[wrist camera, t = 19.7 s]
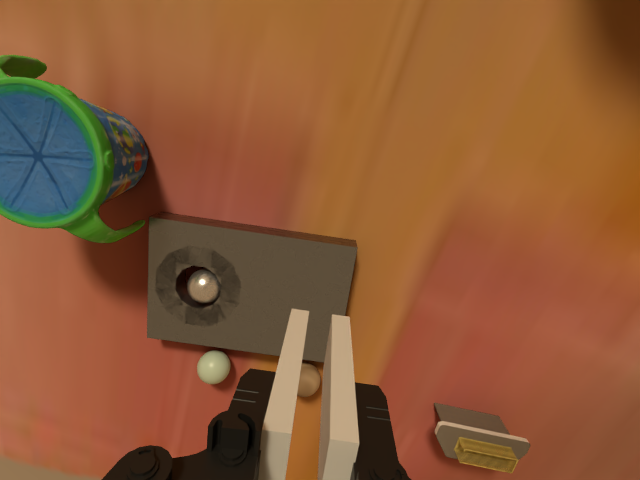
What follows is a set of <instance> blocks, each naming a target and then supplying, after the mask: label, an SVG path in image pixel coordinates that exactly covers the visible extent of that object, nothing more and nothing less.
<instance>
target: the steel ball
mask: <svg viewBox="0 0 640 480" xmlns="http://www.w3.org/2000/svg"><path fill="white" fill-rule="evenodd" d="M220 289H221V284H220V282H219V280H218V278H217V276H216V274H214V273H213V272H211V271H210V270H208V269H200V270H197V271H196V272H194V273H193V274H192V275H191V276H190V278H189V280H188V283H187V290H188V293H189V295H190V296H191V298H192V299H194V300H195V301H197V302H200V303H209V302H212V301H214V300H216V299H217V298H218V297H219V296H220Z"/></svg>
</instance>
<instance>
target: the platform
mask: <svg viewBox="0 0 640 480" xmlns="http://www.w3.org/2000/svg"><path fill="white" fill-rule="evenodd" d="M434 406H435V408H436V411H437V413H438V416H439V418H440V422H438V424H437V426H436V429H435V434H436V437H437V439H438V441H439V443H440V445H441V447H442V449H443V451H444V453H445V455H446V457H449V458H454V459H458V460H459V462H460V461H461V462H460V463H464V464H469V465H473V466H478V467H483V468H488V469H493V470H498V471H503V472H508V473H513V471H514V469H515V467H516V465H517V463H518V460H519V459H521V458H522V457H523V456H524V455H525V454H527V452H528V450H529V448H530V444H529V442H528V441H527V439H526V438H522V437H517V436H512V435H510V433H509V432H508V430H507V429H506V427H505V425H504V424H503V422H502V420H501V419H500V417H499V416H496V415H491V414H486V413H481V412H477V411H472V410H467V409H462V408H458V407H453V406H448V405H443V404H438V403H434ZM463 442H464V443H463ZM476 442H477V443H476ZM479 442H480V443H479ZM478 443H479V444H478ZM477 444H478V445H477ZM480 444H481V445H480ZM461 445H462V446H461ZM479 445H480V446H479ZM460 446H461V447H460ZM478 446H479V447H478ZM481 446H482V447H481ZM497 446H498V447H497ZM462 447H463V448H462ZM480 447H481V448H480ZM496 447H497V448H496ZM499 447H500V448H499ZM479 448H480V449H479ZM482 448H483V449H482ZM495 448H496V449H495ZM498 448H499V449H498ZM481 449H482V450H481ZM497 449H498V450H497ZM483 450H484V451H483ZM496 450H497V451H496ZM499 450H500V451H499ZM482 451H483V452H482ZM498 451H499V452H498ZM484 452H485V453H484ZM497 452H498V453H497ZM463 460H464V461H463ZM465 461H466V462H465ZM468 461H469V462H468ZM467 462H468V463H467ZM470 462H471V463H470ZM472 463H473V464H472ZM477 463H478V464H477ZM479 464H480V465H479ZM482 464H483V465H482ZM481 465H482V466H481ZM484 465H485V466H484ZM491 466H492V467H491ZM493 467H494V468H493ZM496 467H497V468H496ZM495 468H496V469H495ZM498 468H499V469H498ZM506 468H507V469H506ZM509 468H510V469H509ZM508 469H509V470H508ZM511 469H512V470H511ZM507 470H508V471H507ZM510 470H511V471H510ZM509 471H510V472H509Z"/></svg>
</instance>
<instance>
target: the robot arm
mask: <svg viewBox="0 0 640 480" xmlns="http://www.w3.org/2000/svg"><path fill="white" fill-rule="evenodd" d="M308 316H309V311H306V310H299V309H292V310H291V314H290V318H289V322H288V326H287V330H286V334H285V338H284V342H283V346H282V350H281V354H280V358H279V362H278V366H277V371H276V372H271V371H264V370H257V369H249V370H248V371H247V372H246V373H245V374H244V375H243V376H242V377H241V378H240V381H239V383H238V386H237V389H236V391H235V394H234V396H233V400H232V402H231V404H230V407H229V409H228V411H225V412H222V413H220V414H218V415H217V416H216V417H214V418H213V419H212V421H211V422H210V424H209V426H208V438H207V449H205V450H204V451H201V452H199V453H197V454H194V455H190V456H184V457H177V458H172V457H171V455H170V454H169V452H168V451H167V450H165V449H164V448H162V447H159V446H152V445H150V446H144V447H139V448H137V449H135V450H133V451H131V452H129V453H127V454H126V455H125V456H124V457H123V458H121V459H120V460H119V461H118V462H117V463H116V464H115V466H114V467H113V468H112V469H111V470H110V471H109V472H108V473H107V474H106V476H105V477H104V478H103V479H102V480H285V476H286V469H287V462H288V455H289V448H290V441H291V434H292V428H293V421H294V414H295V407H296V400H297V393H298V386H299V379H300V372H301V365H302V358H303V351H304V344H305V337H306V330H307V323H308ZM318 480H411V479H410V478H409V477H408V476H407V473H406V471H405V469H404V468H403V467H402V466H401V464H400V463H399V461H398V457H397V452H396V447H395V442H394V436H393V431H392V426H391V421H390V415H389V411H388V405H387V400H386V396H385V395H384V393H383V392H382V391H381V389H380V388H379V386H376V385H369V384H362V383H355V381H354V368H353V355H352V342H351V329H350V317H348V316H341V315H334V314H332V318H331V324H330V330H329V336H328V342H327V349H326V355H325V361H324V367H323V384H322V404H321V424H320V444H319V463H318Z"/></svg>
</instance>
